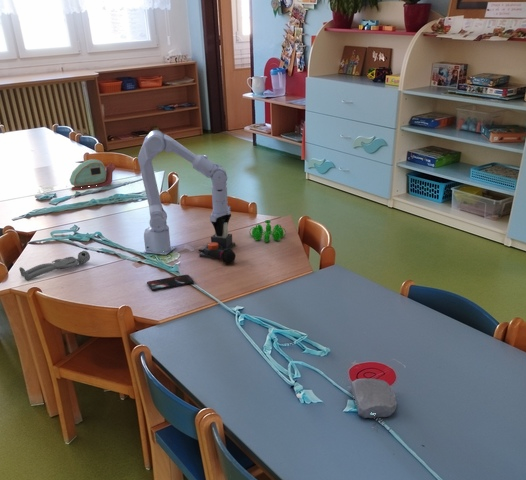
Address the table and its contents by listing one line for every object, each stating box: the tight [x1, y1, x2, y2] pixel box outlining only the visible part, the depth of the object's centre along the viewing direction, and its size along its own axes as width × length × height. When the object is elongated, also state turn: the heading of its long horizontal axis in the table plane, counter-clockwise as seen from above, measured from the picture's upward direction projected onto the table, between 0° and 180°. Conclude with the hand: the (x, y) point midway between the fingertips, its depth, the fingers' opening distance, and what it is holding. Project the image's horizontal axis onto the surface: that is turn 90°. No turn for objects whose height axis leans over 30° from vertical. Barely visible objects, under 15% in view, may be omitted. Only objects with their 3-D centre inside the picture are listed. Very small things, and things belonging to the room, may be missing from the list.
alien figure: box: [18, 250, 91, 281], centre depth 208 cm, size 8×5×25 cm
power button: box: [207, 241, 218, 250], centre depth 219 cm, size 4×4×2 cm
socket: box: [210, 233, 233, 248], centre depth 226 cm, size 6×6×5 cm
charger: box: [214, 222, 229, 238], centre depth 224 cm, size 4×3×6 cm
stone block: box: [350, 377, 398, 419], centre depth 137 cm, size 12×5×10 cm
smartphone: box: [146, 274, 195, 291], centre depth 198 cm, size 7×1×15 cm
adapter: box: [199, 241, 236, 261], centre depth 224 cm, size 8×16×3 cm, turn 159°
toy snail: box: [69, 158, 116, 191], centre depth 304 cm, size 25×8×14 cm, turn 122°
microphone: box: [198, 248, 236, 265], centre depth 217 cm, size 6×6×20 cm
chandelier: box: [249, 220, 287, 243], centre depth 235 cm, size 15×15×7 cm
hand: (221, 234), depth 225 cm, fingers closed on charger, 3 cm apart
